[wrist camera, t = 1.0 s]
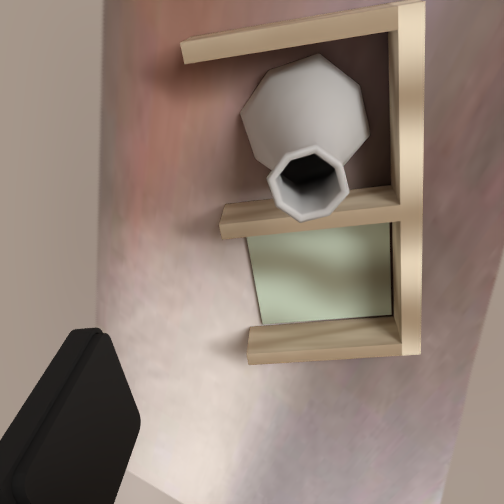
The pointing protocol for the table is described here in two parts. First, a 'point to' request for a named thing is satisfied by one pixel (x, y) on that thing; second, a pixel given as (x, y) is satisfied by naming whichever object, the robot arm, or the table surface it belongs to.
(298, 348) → the comb rack
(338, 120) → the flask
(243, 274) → the table surface
